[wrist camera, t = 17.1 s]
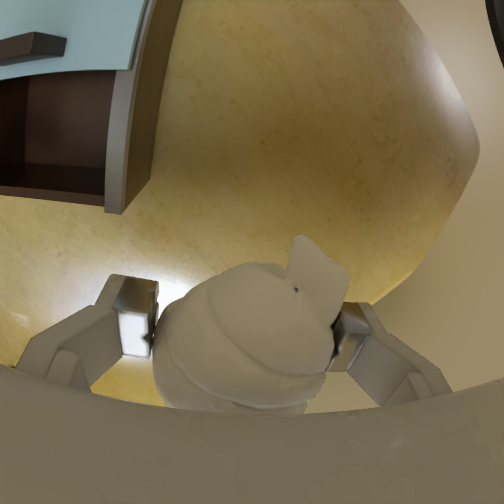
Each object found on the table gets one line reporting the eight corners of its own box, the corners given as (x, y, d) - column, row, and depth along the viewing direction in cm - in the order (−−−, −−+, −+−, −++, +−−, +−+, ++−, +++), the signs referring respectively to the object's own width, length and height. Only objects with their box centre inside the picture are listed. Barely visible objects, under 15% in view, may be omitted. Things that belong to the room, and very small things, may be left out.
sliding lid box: (53, -23, 12) (8, -43, 5) (194, -37, 15) (182, -80, 8) (24, 168, 22) (-26, 197, 15) (150, 179, 24) (121, 215, 17)
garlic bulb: (360, 252, 11) (434, 361, 6) (268, 352, 13) (286, 463, 8) (235, 170, 9) (247, 268, 4) (154, 304, 11) (125, 428, 6)
